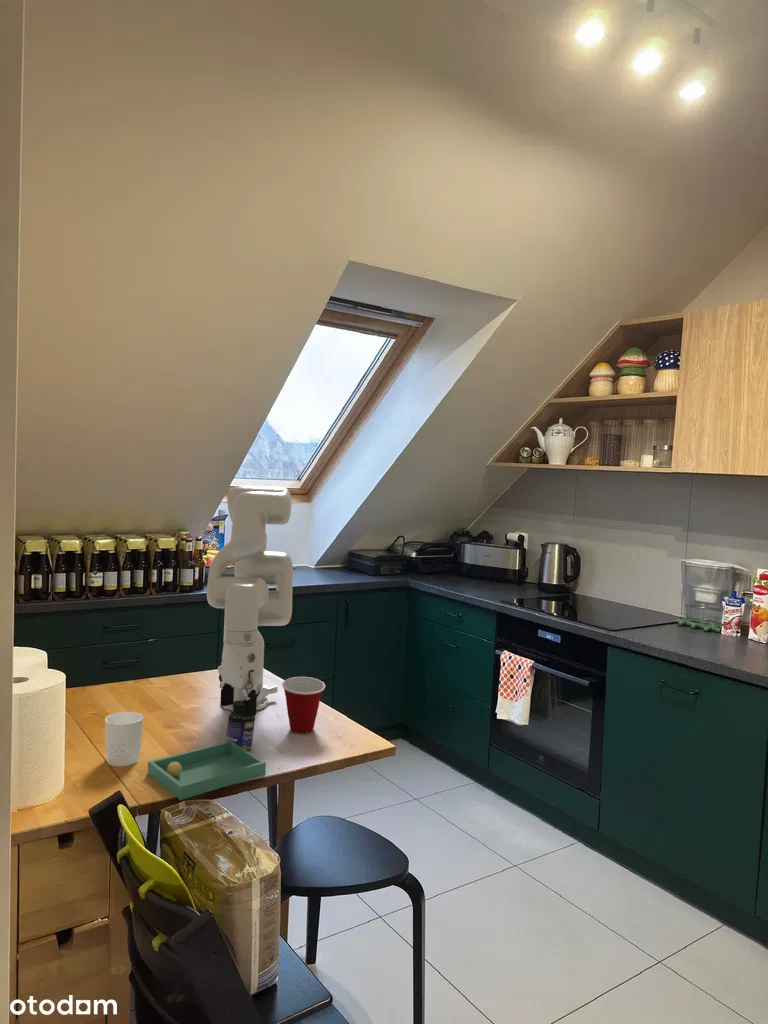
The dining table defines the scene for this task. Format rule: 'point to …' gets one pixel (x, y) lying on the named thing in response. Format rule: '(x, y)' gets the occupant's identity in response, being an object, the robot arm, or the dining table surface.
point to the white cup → (123, 738)
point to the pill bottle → (240, 727)
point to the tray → (207, 769)
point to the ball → (174, 769)
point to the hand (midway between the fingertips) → (237, 710)
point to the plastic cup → (302, 702)
